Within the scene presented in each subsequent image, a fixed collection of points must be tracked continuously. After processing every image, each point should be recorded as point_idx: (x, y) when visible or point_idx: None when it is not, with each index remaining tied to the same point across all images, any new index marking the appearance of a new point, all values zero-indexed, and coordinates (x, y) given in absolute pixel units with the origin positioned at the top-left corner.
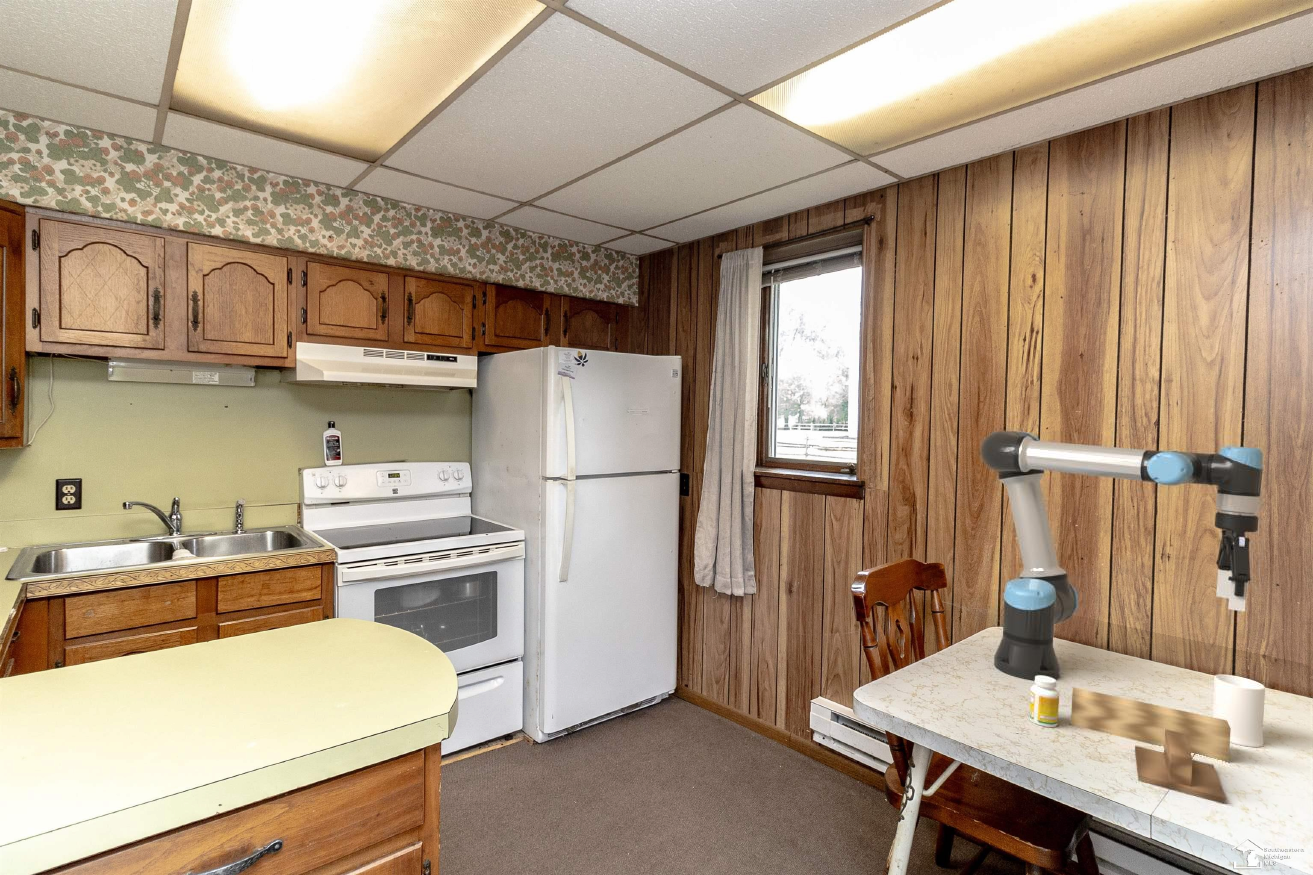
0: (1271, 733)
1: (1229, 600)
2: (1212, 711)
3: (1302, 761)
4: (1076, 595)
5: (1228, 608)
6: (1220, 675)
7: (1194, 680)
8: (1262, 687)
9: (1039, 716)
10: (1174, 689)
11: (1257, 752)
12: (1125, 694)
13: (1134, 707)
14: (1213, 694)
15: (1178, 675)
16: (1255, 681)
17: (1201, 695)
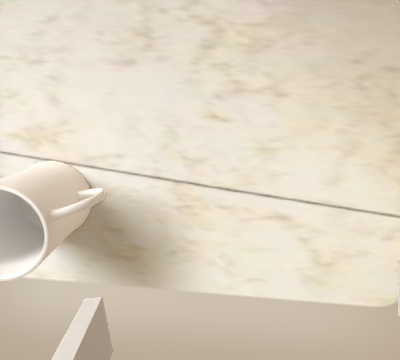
0: (130, 248)
1: (75, 325)
2: (30, 169)
3: (22, 277)
4: None
5: (99, 297)
6: (23, 198)
7: (380, 142)
8: (6, 275)
9: None
10: (277, 105)
11: None
12: (154, 12)
13: None
14: (11, 176)
15: (397, 113)
16: (32, 266)
17: (274, 152)
